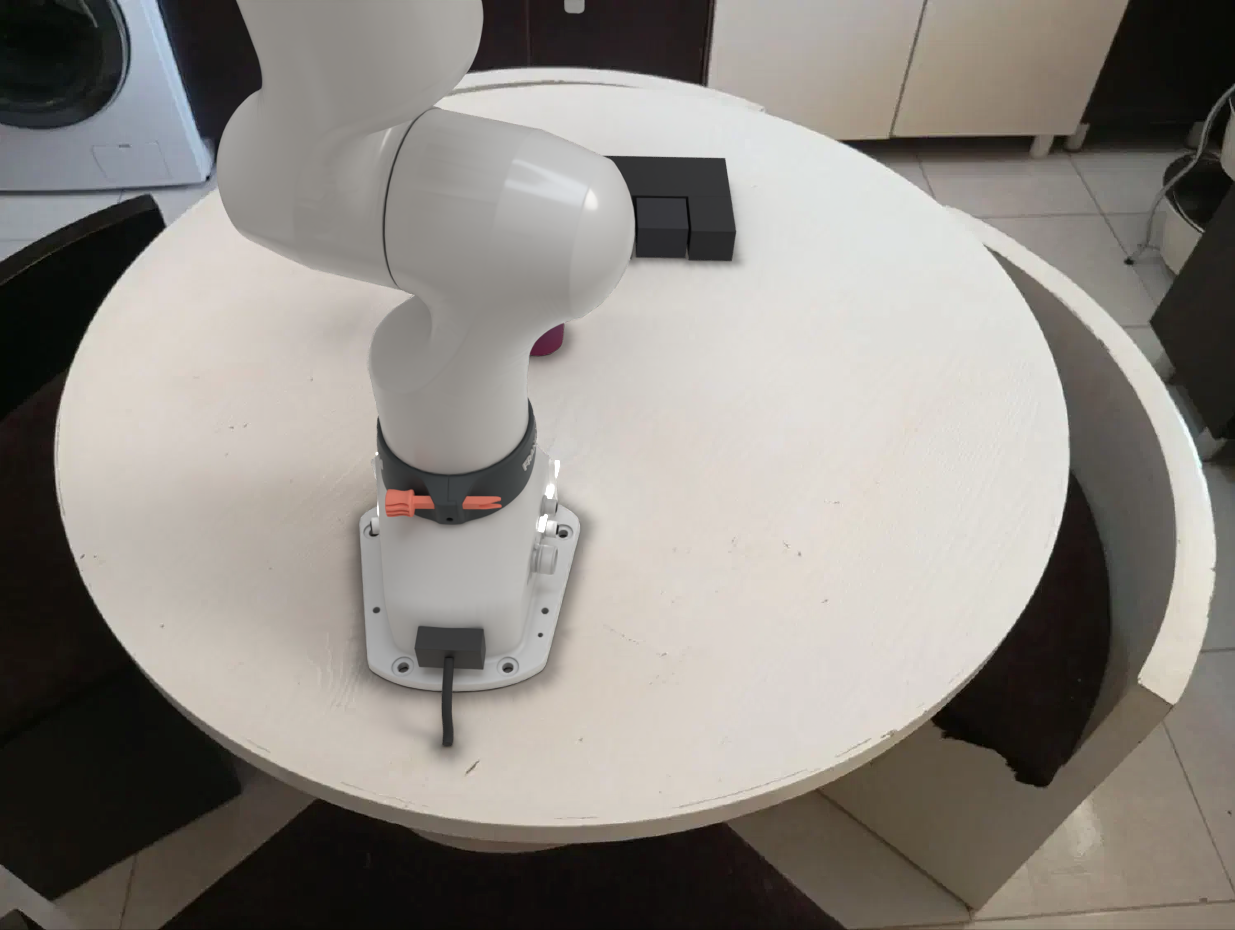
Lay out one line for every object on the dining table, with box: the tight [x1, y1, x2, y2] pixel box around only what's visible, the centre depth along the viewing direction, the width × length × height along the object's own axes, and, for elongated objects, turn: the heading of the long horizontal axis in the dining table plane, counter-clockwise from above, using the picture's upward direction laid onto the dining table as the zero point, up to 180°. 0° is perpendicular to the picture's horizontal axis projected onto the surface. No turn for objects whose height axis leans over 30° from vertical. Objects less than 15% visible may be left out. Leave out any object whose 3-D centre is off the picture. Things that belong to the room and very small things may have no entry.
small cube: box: [634, 198, 689, 259], centre depth 110 cm, size 6×6×4 cm
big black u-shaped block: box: [603, 155, 737, 262], centre depth 113 cm, size 14×16×4 cm
